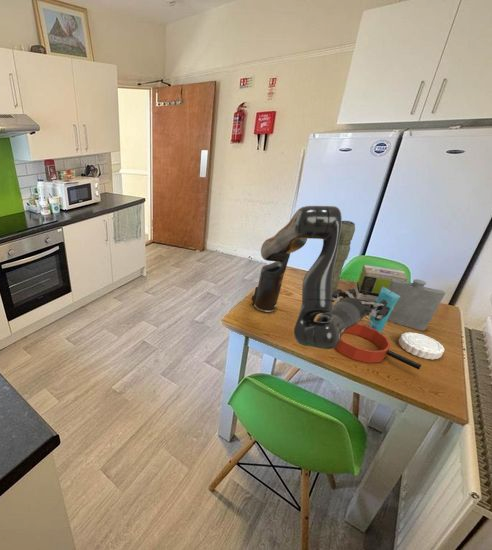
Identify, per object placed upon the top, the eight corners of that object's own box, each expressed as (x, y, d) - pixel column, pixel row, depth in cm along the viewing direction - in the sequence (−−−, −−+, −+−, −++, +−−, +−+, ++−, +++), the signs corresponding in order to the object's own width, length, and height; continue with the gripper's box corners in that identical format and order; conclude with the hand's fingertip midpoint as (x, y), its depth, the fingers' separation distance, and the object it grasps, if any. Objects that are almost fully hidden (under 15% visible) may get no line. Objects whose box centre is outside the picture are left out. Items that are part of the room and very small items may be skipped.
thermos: (340, 287, 151) (363, 221, 135) (330, 295, 145) (353, 227, 129) (321, 281, 157) (341, 217, 141) (311, 288, 151) (331, 222, 135)
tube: (386, 336, 117) (406, 295, 108) (376, 338, 116) (395, 297, 107) (368, 325, 124) (386, 285, 115) (359, 327, 123) (375, 287, 114)
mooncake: (398, 334, 118) (401, 327, 116) (439, 346, 111) (443, 339, 110) (397, 350, 110) (401, 343, 108) (442, 365, 103) (447, 357, 102)
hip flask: (425, 327, 121) (448, 285, 112) (424, 332, 119) (448, 289, 109) (377, 312, 131) (394, 273, 122) (375, 316, 129) (393, 276, 119)
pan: (320, 342, 115) (324, 332, 113) (341, 326, 123) (345, 316, 121) (406, 386, 95) (412, 375, 93) (424, 364, 104) (430, 353, 101)
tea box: (392, 297, 142) (404, 269, 135) (395, 307, 134) (409, 279, 127) (354, 289, 149) (364, 263, 142) (355, 299, 141) (366, 271, 134)
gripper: (377, 314, 81) (400, 296, 89) (323, 293, 92) (347, 278, 100) (368, 336, 85) (390, 316, 92) (316, 313, 95) (340, 297, 103)
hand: (368, 296), depth 96 cm, fingers open, 8 cm apart
